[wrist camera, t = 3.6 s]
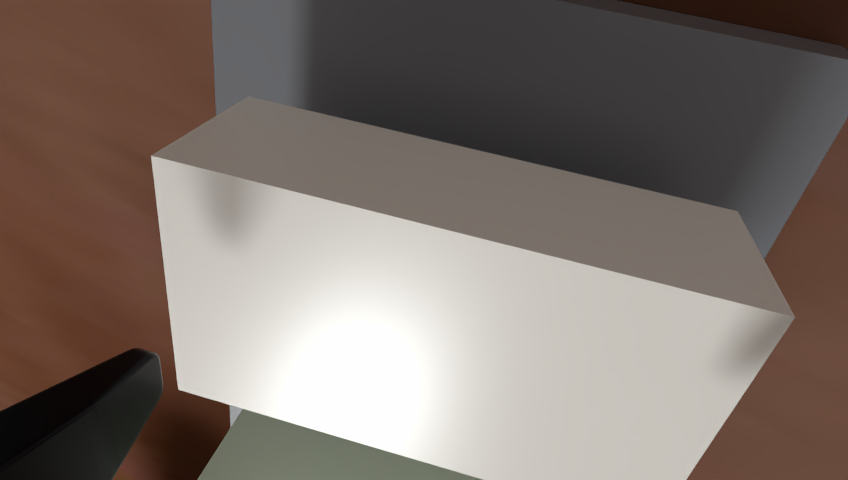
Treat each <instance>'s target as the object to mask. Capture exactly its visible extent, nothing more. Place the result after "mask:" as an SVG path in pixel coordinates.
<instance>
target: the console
mask: <svg viewBox="0 0 848 480" xmlns="http://www.w3.org/2000/svg"><path fill="white" fill-rule="evenodd" d="M211 13H212V35H213V56H214V78H215V100H216V116H217V115H219V114H220V113H222V112H224V111H225V110H227V109H228V108H230V107H232V106H233V105H235V104H237V103H238V102H240V101H242V100H243V99H245V98H246V97H248V96H249V97H253V98H258V99H262V100H266V101H270V102H275V103H279V104H283V105H287V106H292V107H296V108H300V109H304V110H309V111H313V112H317V113H322V114H326V115H330V116H334V117H339V118H343V119H347V120H351V121H356V122H360V123H364V124H368V125H373V126H377V127H381V128H385V129H390V130H394V131H398V132H402V133H407V134H411V135H415V136H420V137H424V138H428V139H432V140H437V141H441V142H445V143H449V144H454V145H458V146H462V147H466V148H471V149H475V150H479V151H483V152H488V153H492V154H496V155H500V156H505V157H509V158H513V159H517V160H522V161H526V162H530V163H535V164H539V165H543V166H547V167H552V168H556V169H560V170H564V171H569V172H573V173H577V174H581V175H586V176H590V177H594V178H598V179H603V180H607V181H611V182H615V183H620V184H624V185H628V186H632V187H637V188H641V189H645V190H650V191H654V192H658V193H662V194H667V195H671V196H675V197H679V198H684V199H688V200H692V201H696V202H701V203H705V204H709V205H713V206H718V207H722V208H726V209H730V210H735V211H738V213H739V214H740V216H741V218H742V220H743V222H744V224H745V226H746V227H747V229H748V231H749V233H750V235H751V237H752V238H753V240H754V242H755V244H756V246H757V248H758V250H759V251H760V253H761V255H762V257H763V259H764V258H765V257H766V255H767V253H768V252H769V250H770V248H771V247H772V245H773V243H774V241H775V240H776V238H777V236H778V235H779V233H780V231H781V230H782V228H783V226H784V224H785V223H786V221H787V219H788V218H789V216H790V214H791V213H792V211H793V209H794V207H795V206H796V204H797V202H798V201H799V199H800V197H801V196H802V194H803V192H804V190H805V189H806V187H807V185H808V184H809V182H810V180H811V179H812V177H813V175H814V173H815V172H816V170H817V168H818V167H819V165H820V163H821V162H822V160H823V158H824V156H825V155H826V153H827V151H828V150H829V148H830V146H831V145H832V143H833V141H834V140H835V138H836V136H837V134H838V133H839V131H840V129H841V128H842V126H843V124H844V123H845V121H846V119H847V117H848V50H847V49H846V48H844V47H842V46H840V45H836V44H831V43H826V42H821V41H816V40H811V39H806V38H801V37H797V36H792V35H787V34H782V33H777V32H772V31H767V30H762V29H757V28H752V27H747V26H742V25H737V24H732V23H727V22H722V21H717V20H712V19H707V18H702V17H697V16H693V15H688V14H683V13H678V12H673V11H668V10H663V9H658V8H653V7H648V6H643V5H638V4H633V3H628V2H623V1H618V0H211ZM241 411H242V408H239V407H236V406H232V405H230V424H231V426H232V425H233V423H234V422H235V420H236V419H237V417H238V416H239V414H240V412H241Z"/></svg>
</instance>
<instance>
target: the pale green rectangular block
mask: <svg viewBox="0 0 848 480" xmlns="http://www.w3.org/2000/svg"><path fill="white" fill-rule="evenodd" d="M197 480H483V479H479V478H476V477H473V476H469V475H466V474H462V473H459V472H456V471H452V470H449V469H446V468H442V467H439V466H435V465H432V464H429V463H425V462H422V461H418V460H415V459H412V458H408V457H405V456H402V455H398V454H395V453H391V452H388V451H385V450H381V449H378V448H374V447H371V446H368V445H364V444H361V443H357V442H354V441H351V440H347V439H344V438H341V437H337V436H334V435H330V434H327V433H324V432H320V431H317V430H313V429H310V428H307V427H303V426H300V425H297V424H293V423H290V422H286V421H283V420H280V419H276V418H273V417H269V416H266V415H263V414H259V413H256V412H252V411H249V410H246V409H242V411H241V412H240V414H239V416H238V417H237V419H236V420H235V422H234V423H233V425H232V426H231V428H230V430H229V431H228V433H227V434H226V436H225V437H224V439H223V440H222V442H221V444H220V445H219V447H218V448H217V450H216V451H215V453H214V454H213V456H212V458H211V459H210V461H209V462H208V464H207V465H206V467H205V468H204V470H203V472H202V473H201V475H200V476H199V478H198V479H197Z"/></svg>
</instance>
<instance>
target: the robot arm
mask: <svg viewBox="0 0 848 480" xmlns="http://www.w3.org/2000/svg"><path fill="white" fill-rule="evenodd" d="M162 391H163V380H162V372H161V365H160V359H159V356H158V355H157V354H156V353H154V352H150V351H147V350H143V349H140V348H134V349H130V350H128V351H126V352H124V353H122V354H119V355H117V356H115V357H113V358H111V359H109V360H107V361H105V362H103V363H101V364H98V365H96V366H94V367H92V368H90V369H88V370H86V371H84V372H82V373H80V374H77V375H75V376H73V377H71V378H69V379H67V380H65V381H63V382H61V383H59V384H56V385H54V386H52V387H50V388H48V389H46V390H44V391H42V392H40V393H38V394H35V395H33V396H31V397H29V398H27V399H25V400H23V401H21V402H19V403H17V404H14V405H12V406H10V407H8V408H6V409H4V410H2V411H0V480H112V479H113V477H114V476H115V474H116V472H117V471H118V469H119V467H120V466H121V464H122V462H123V461H124V459H125V457H126V456H127V454H128V452H129V451H130V449H131V447H132V445H133V444H134V442H135V440H136V439H137V437H138V435H139V433H140V432H141V430H142V428H143V427H144V425H145V423H146V421H147V420H148V418H149V416H150V415H151V413H152V411H153V409H154V408H155V406H156V404H157V403H158V401H159V399H160V397H161V394H162Z"/></svg>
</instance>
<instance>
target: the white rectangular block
mask: <svg viewBox="0 0 848 480" xmlns="http://www.w3.org/2000/svg"><path fill="white" fill-rule="evenodd" d="M151 159H152V167H153V176H154V185H155V193H156V202H157V210H158V219H159V228H160V236H161V245H162V253H163V262H164V271H165V279H166V288H167V296H168V305H169V314H170V322H171V331H172V339H173V348H174V357H175V365H176V374H177V382H178V390H181V391H185V392H188V393H191V394H195V395H198V396H202V397H205V398H208V399H212V400H215V401H219V402H222V403H225V404H229V405H232V406H236V407H239V408H242V409H246V410H249V411H252V412H256V413H259V414H263V415H266V416H269V417H273V418H276V419H280V420H283V421H286V422H290V423H293V424H297V425H300V426H303V427H307V428H310V429H313V430H317V431H320V432H324V433H327V434H330V435H334V436H337V437H341V438H344V439H347V440H351V441H354V442H357V443H361V444H364V445H368V446H371V447H374V448H378V449H381V450H385V451H388V452H391V453H395V454H398V455H402V456H405V457H408V458H412V459H415V460H418V461H422V462H425V463H429V464H432V465H435V466H439V467H442V468H446V469H449V470H452V471H456V472H459V473H462V474H466V475H469V476H473V477H476V478H479V479H483V480H686V479H687V478H688V476H689V475H690V473H691V472H692V470H693V469H694V467H695V466H696V464H697V463H698V461H699V460H700V458H701V457H702V455H703V454H704V452H705V451H706V449H707V448H708V446H709V445H710V443H711V442H712V440H713V439H714V437H715V436H716V434H717V433H718V431H719V430H720V428H721V427H722V425H723V424H724V422H725V421H726V419H727V418H728V416H729V415H730V413H731V412H732V410H733V409H734V407H735V406H736V404H737V403H738V401H739V400H740V398H741V397H742V396H743V394H744V393H745V391H746V390H747V388H748V387H749V385H750V384H751V382H752V381H753V379H754V378H755V376H756V375H757V373H758V372H759V370H760V369H761V367H762V366H763V364H764V363H765V361H766V360H767V358H768V357H769V355H770V354H771V352H772V351H773V349H774V348H775V346H776V345H777V343H778V342H779V340H780V339H781V337H782V336H783V334H784V333H785V331H786V330H787V328H788V327H789V325H790V324H791V322H792V321H793V319H794V318H795V316H794V314H793V313H792V311H791V309H790V307H789V305H788V303H787V301H786V300H785V298H784V296H783V294H782V292H781V290H780V289H779V287H778V285H777V283H776V281H775V279H774V277H773V276H772V274H771V272H770V270H769V268H768V266H767V264H766V263H765V261H764V259H763V257H762V255H761V253H760V251H759V250H758V248H757V246H756V244H755V242H754V240H753V238H752V237H751V235H750V233H749V231H748V229H747V227H746V226H745V224H744V222H743V220H742V218H741V216H740V214H739V213H738V211H735V210H730V209H726V208H722V207H718V206H713V205H709V204H705V203H701V202H696V201H692V200H688V199H684V198H679V197H675V196H671V195H667V194H662V193H658V192H654V191H650V190H645V189H641V188H637V187H632V186H628V185H624V184H620V183H615V182H611V181H607V180H603V179H598V178H594V177H590V176H586V175H581V174H577V173H573V172H569V171H564V170H560V169H556V168H552V167H547V166H543V165H539V164H535V163H530V162H526V161H522V160H517V159H513V158H509V157H505V156H500V155H496V154H492V153H488V152H483V151H479V150H475V149H471V148H466V147H462V146H458V145H454V144H449V143H445V142H441V141H437V140H432V139H428V138H424V137H420V136H415V135H411V134H407V133H402V132H398V131H394V130H390V129H385V128H381V127H377V126H373V125H368V124H364V123H360V122H356V121H351V120H347V119H343V118H339V117H334V116H330V115H326V114H322V113H317V112H313V111H309V110H304V109H300V108H296V107H292V106H287V105H283V104H279V103H275V102H270V101H266V100H262V99H258V98H253V97H249V96H248V97H246V98H245V99H243V100H242V101H240V102H238V103H237V104H235V105H233V106H232V107H230V108H228V109H227V110H225V111H224V112H222V113H220V114H219V115H217V116H215V117H214V118H212V119H210V120H209V121H207V122H205V123H204V124H202V125H201V126H199V127H197V128H196V129H194V130H192V131H191V132H189V133H187V134H186V135H184V136H183V137H181V138H179V139H178V140H176V141H174V142H173V143H171V144H169V145H168V146H166V147H165V148H163V149H161V150H160V151H158V152H156V153H155V154H153V155H151Z"/></svg>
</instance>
